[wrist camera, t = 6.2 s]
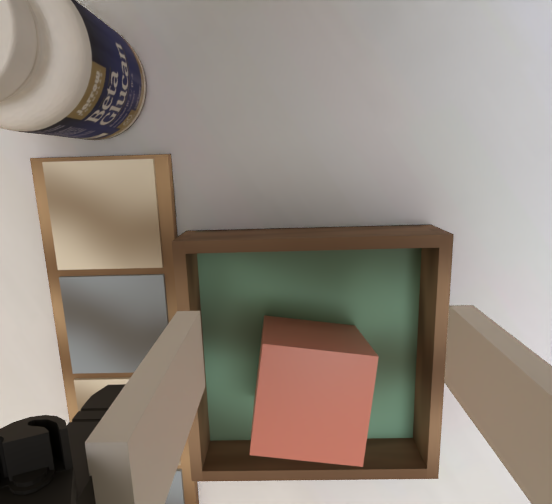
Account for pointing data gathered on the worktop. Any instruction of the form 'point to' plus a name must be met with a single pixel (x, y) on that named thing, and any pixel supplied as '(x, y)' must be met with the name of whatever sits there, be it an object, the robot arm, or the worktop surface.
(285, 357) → the salmon red cube
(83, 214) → the board
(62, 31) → the pill bottle
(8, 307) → the worktop surface
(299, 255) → the dice tray
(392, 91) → the worktop surface
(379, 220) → the worktop surface
